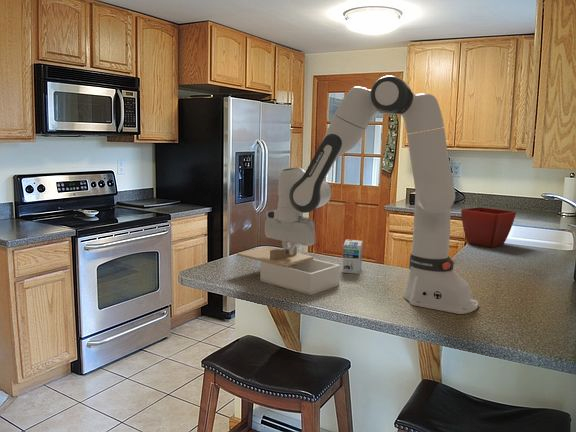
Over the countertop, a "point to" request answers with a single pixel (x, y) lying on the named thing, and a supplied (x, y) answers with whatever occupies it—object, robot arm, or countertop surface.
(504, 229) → the plant pot
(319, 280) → the base
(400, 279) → the countertop surface
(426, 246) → the robot arm
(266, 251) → the tan box lid
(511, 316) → the countertop surface
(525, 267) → the countertop surface
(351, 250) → the light bulb box
